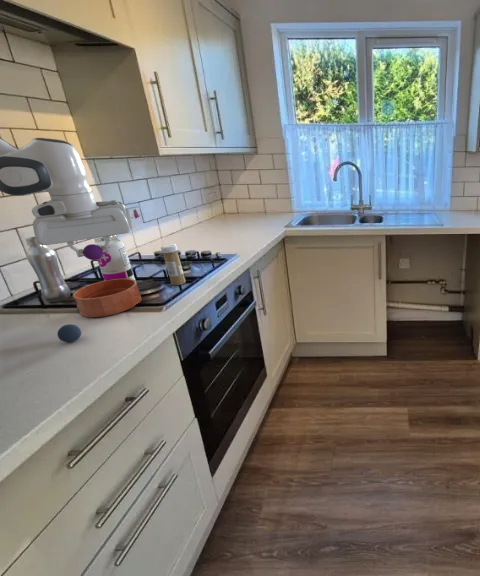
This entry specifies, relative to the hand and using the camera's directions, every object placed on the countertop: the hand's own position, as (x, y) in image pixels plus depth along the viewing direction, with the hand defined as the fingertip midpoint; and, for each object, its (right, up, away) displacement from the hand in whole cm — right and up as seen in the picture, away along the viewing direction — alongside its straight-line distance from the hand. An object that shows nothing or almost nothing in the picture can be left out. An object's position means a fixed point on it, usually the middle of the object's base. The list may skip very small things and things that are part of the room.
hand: (93, 254), depth 101 cm
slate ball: (+4, -23, -11) cm, 25 cm away
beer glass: (-16, -5, +31) cm, 35 cm away
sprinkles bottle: (+11, -8, +23) cm, 26 cm away
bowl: (0, -15, +7) cm, 16 cm away
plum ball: (0, -1, +1) cm, 2 cm away
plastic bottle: (-20, -13, +12) cm, 27 cm away
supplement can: (-9, -9, +23) cm, 26 cm away
